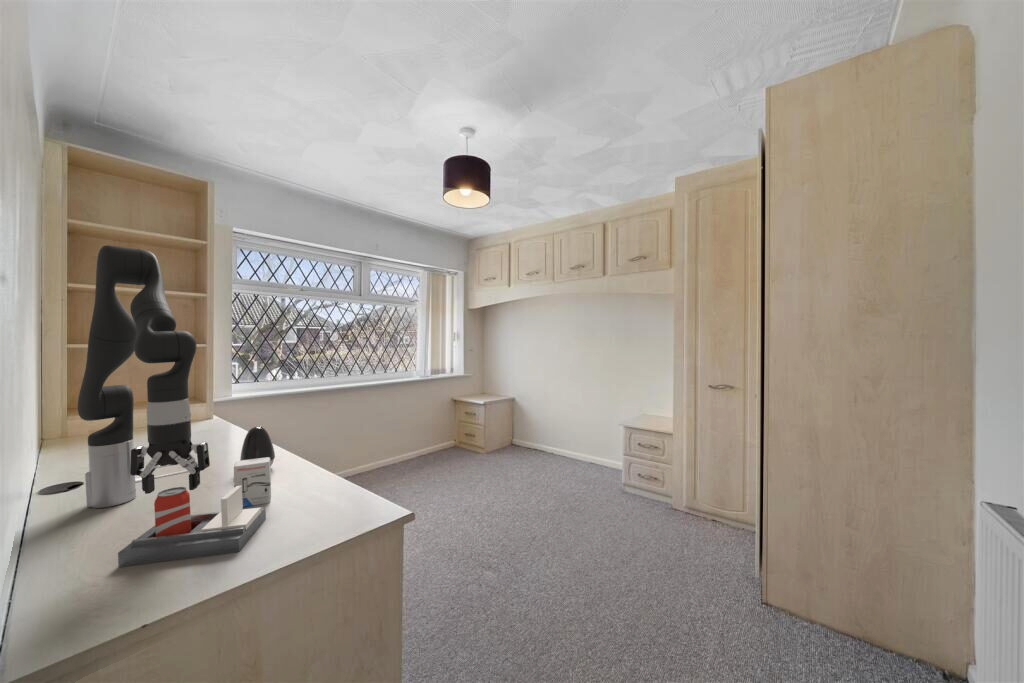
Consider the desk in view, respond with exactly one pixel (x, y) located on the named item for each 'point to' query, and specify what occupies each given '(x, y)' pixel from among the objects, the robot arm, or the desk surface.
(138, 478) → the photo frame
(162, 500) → the beverage can
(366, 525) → the desk surface
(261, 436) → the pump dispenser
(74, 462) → the desk surface
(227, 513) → the t-shaped bracket
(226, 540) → the socket plate
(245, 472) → the ink box
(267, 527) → the desk surface
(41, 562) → the desk surface
